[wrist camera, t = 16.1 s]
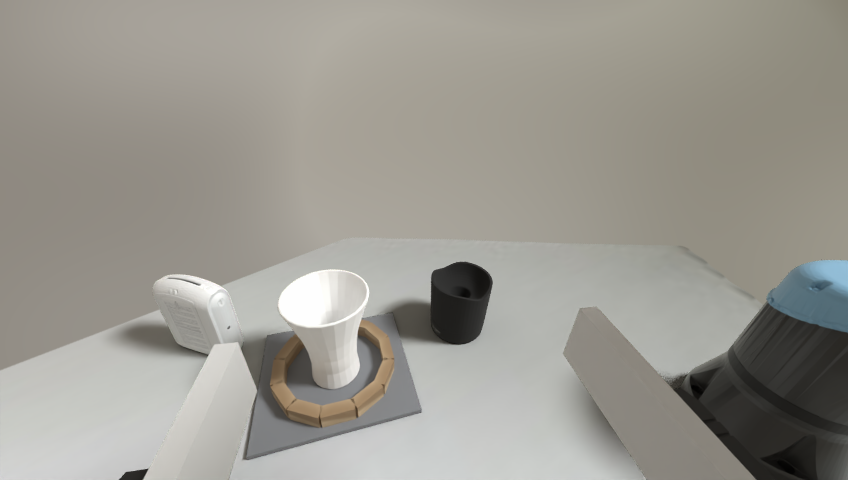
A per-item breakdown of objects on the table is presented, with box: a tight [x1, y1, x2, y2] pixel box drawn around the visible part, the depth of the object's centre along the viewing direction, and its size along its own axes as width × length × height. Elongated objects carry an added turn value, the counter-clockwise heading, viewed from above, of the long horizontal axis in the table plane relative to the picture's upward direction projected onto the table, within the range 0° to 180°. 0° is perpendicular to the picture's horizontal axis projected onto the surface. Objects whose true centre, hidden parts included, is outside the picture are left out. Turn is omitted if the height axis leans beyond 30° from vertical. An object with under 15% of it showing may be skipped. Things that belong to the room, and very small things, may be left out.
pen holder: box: [431, 262, 493, 344], centre depth 51 cm, size 9×9×10 cm
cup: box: [278, 270, 369, 389], centre depth 41 cm, size 10×10×14 cm
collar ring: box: [270, 320, 394, 428], centre depth 44 cm, size 16×16×2 cm
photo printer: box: [152, 275, 244, 355], centre depth 45 cm, size 10×4×12 cm, turn 75°
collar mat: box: [246, 313, 422, 460], centre depth 44 cm, size 20×18×1 cm
